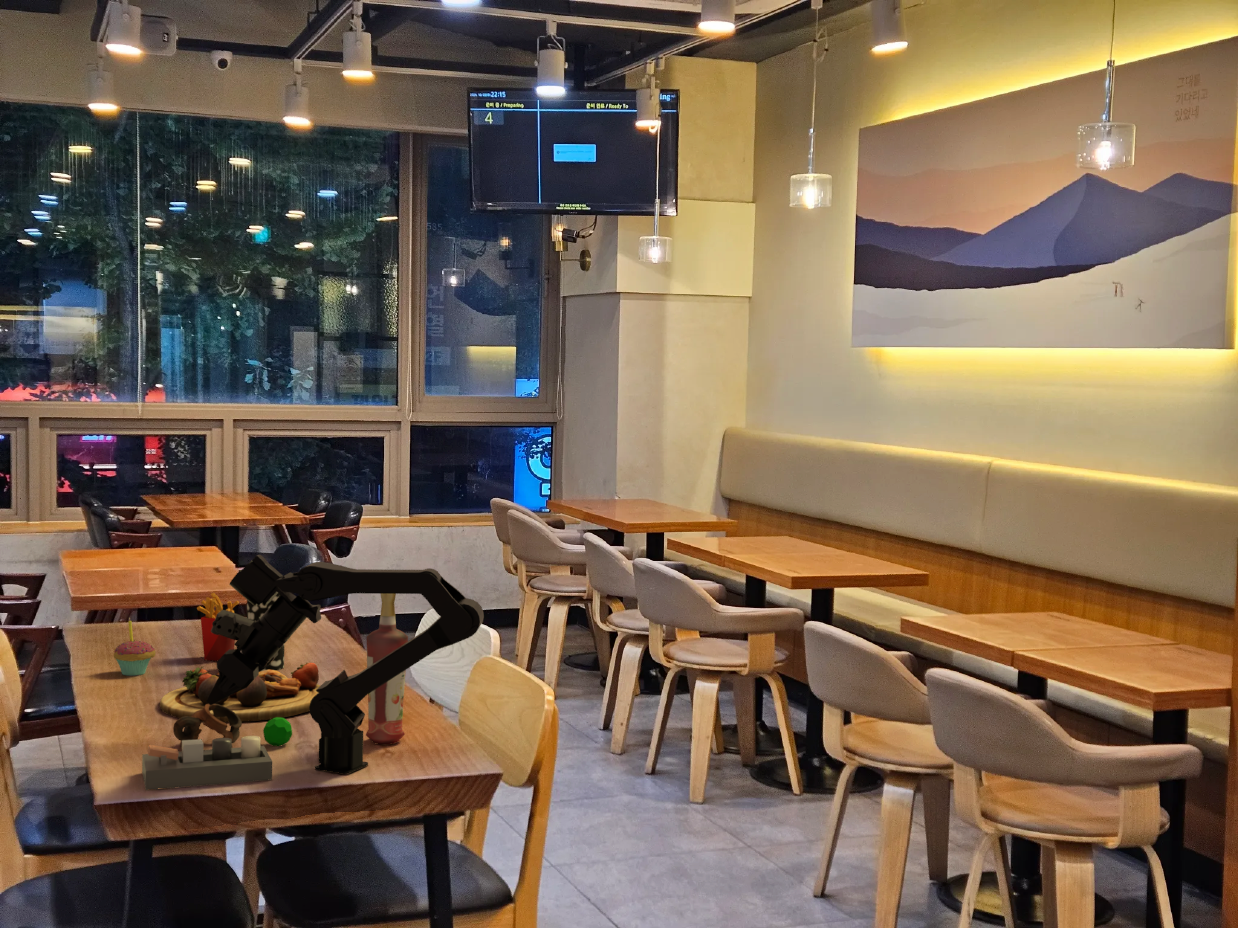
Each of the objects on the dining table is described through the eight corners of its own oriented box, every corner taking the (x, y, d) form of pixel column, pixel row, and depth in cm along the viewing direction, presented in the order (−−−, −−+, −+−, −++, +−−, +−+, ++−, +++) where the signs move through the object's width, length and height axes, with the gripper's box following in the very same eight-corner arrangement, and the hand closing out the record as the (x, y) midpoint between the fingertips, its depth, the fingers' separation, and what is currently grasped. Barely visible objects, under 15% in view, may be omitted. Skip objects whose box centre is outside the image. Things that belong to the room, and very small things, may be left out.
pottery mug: (205, 738, 237) (228, 700, 236) (232, 770, 231) (256, 732, 231) (151, 734, 227) (176, 694, 226) (179, 767, 221) (204, 727, 221)
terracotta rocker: (175, 755, 211) (177, 749, 211) (177, 759, 208) (178, 753, 208) (147, 750, 209) (149, 744, 209) (148, 755, 206) (150, 748, 206)
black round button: (230, 755, 214) (230, 737, 214) (232, 760, 211) (232, 741, 211) (211, 756, 213) (211, 738, 213) (212, 761, 210) (213, 742, 210)
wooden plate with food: (320, 684, 282) (320, 646, 282) (335, 718, 252) (335, 675, 251) (161, 693, 272) (161, 654, 272) (157, 729, 242) (157, 685, 242)
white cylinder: (258, 753, 216) (259, 735, 216) (261, 758, 213) (261, 739, 213) (239, 754, 215) (240, 736, 215) (242, 759, 212) (242, 740, 212)
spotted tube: (249, 663, 300) (250, 576, 300) (286, 664, 301) (288, 576, 300) (242, 671, 292) (244, 581, 291) (281, 671, 293) (282, 581, 292)
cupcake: (105, 673, 286) (105, 618, 285) (139, 667, 293) (139, 613, 292) (129, 679, 281) (129, 623, 280) (163, 673, 288) (164, 618, 287)
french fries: (238, 656, 308) (239, 592, 308) (224, 663, 300) (225, 597, 300) (202, 654, 309) (203, 591, 309) (187, 661, 301) (188, 596, 300)
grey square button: (201, 757, 212) (201, 739, 212) (203, 762, 210) (203, 743, 209) (181, 758, 211) (181, 740, 211) (183, 763, 208) (183, 744, 208)
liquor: (398, 747, 232) (401, 589, 231) (358, 745, 233) (361, 587, 232) (411, 737, 239) (414, 584, 238) (372, 734, 240) (375, 581, 239)
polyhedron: (297, 745, 232) (298, 718, 232) (273, 750, 228) (274, 723, 228) (281, 739, 235) (281, 713, 235) (257, 744, 231) (257, 717, 231)
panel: (263, 763, 220) (263, 737, 219) (272, 779, 210) (272, 752, 210) (142, 772, 212) (142, 745, 212) (145, 790, 203) (146, 761, 203)
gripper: (252, 583, 226) (193, 651, 226) (224, 604, 207) (160, 678, 208) (303, 625, 227) (244, 693, 227) (279, 649, 208) (215, 723, 209)
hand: (216, 695), depth 218 cm, fingers open, 9 cm apart
